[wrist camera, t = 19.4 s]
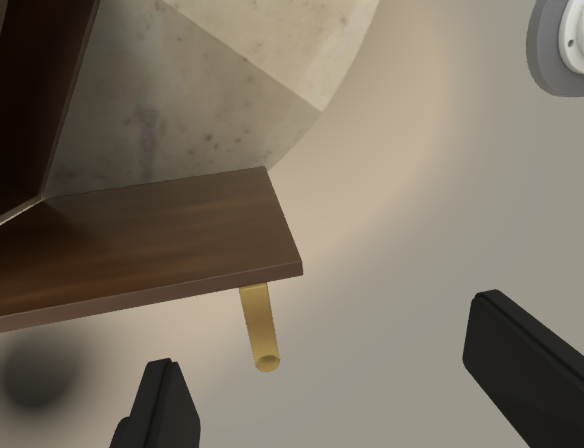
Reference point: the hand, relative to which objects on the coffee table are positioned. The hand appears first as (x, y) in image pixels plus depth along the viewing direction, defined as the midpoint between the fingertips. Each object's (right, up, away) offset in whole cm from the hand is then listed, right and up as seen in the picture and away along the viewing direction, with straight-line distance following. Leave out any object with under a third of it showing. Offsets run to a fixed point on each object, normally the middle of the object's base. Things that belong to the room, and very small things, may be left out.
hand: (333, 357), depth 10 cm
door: (-17, +6, +29) cm, 35 cm away
